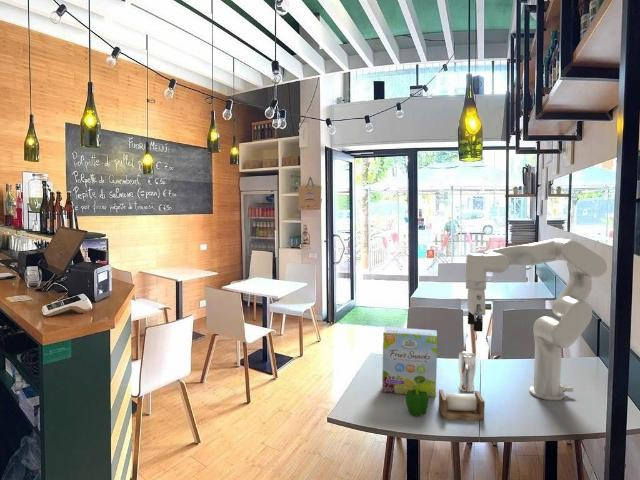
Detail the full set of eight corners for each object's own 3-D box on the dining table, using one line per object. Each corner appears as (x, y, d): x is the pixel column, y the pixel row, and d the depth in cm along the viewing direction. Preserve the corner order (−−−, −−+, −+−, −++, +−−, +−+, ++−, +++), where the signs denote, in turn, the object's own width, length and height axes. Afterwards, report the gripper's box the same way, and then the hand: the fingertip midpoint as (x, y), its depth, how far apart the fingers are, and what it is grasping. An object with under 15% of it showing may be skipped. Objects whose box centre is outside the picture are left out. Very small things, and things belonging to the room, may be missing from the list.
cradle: (477, 408, 167) (478, 390, 167) (484, 420, 158) (484, 401, 158) (438, 407, 169) (439, 389, 168) (442, 418, 160) (443, 399, 159)
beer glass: (476, 393, 180) (477, 357, 179) (458, 392, 182) (459, 356, 181) (474, 386, 187) (475, 352, 186) (457, 385, 189) (457, 351, 187)
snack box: (381, 393, 181) (382, 331, 179) (383, 384, 190) (383, 326, 187) (436, 398, 176) (437, 335, 174) (435, 389, 185) (436, 328, 183)
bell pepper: (429, 419, 159) (429, 392, 158) (405, 417, 161) (406, 391, 160) (427, 408, 167) (427, 383, 167) (405, 407, 169) (405, 381, 168)
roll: (473, 409, 166) (472, 393, 167) (477, 412, 160) (476, 395, 161) (445, 408, 167) (444, 391, 168) (448, 411, 161) (447, 394, 162)
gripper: (492, 289, 165) (490, 334, 166) (480, 281, 182) (479, 321, 183) (471, 289, 165) (470, 333, 167) (461, 280, 183) (460, 321, 184)
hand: (474, 327), depth 175 cm, fingers open, 9 cm apart
